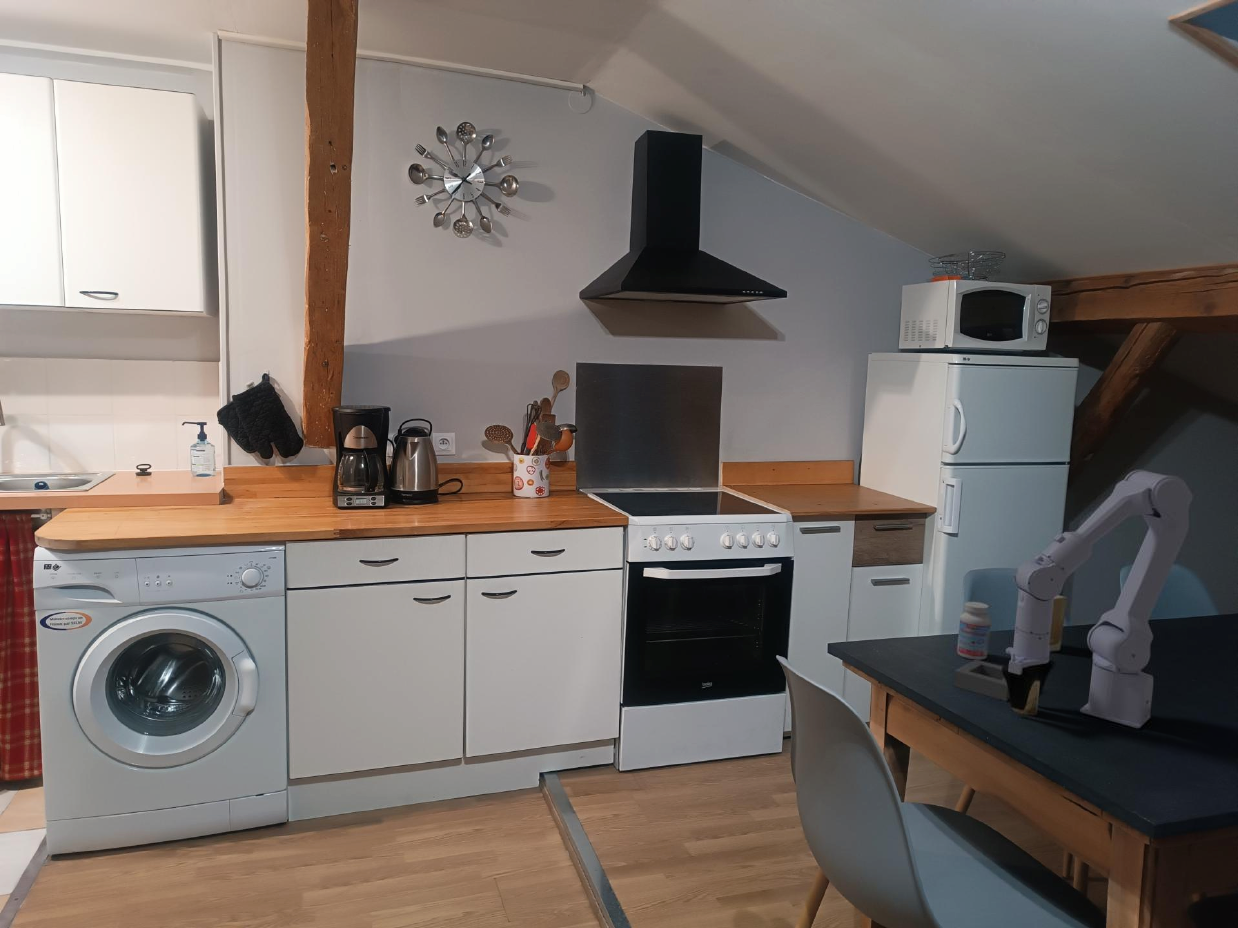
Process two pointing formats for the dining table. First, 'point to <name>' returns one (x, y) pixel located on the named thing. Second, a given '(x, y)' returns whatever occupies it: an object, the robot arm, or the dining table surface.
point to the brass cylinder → (1031, 700)
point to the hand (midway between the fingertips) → (1025, 703)
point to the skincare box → (1057, 622)
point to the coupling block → (982, 679)
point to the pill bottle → (974, 631)
